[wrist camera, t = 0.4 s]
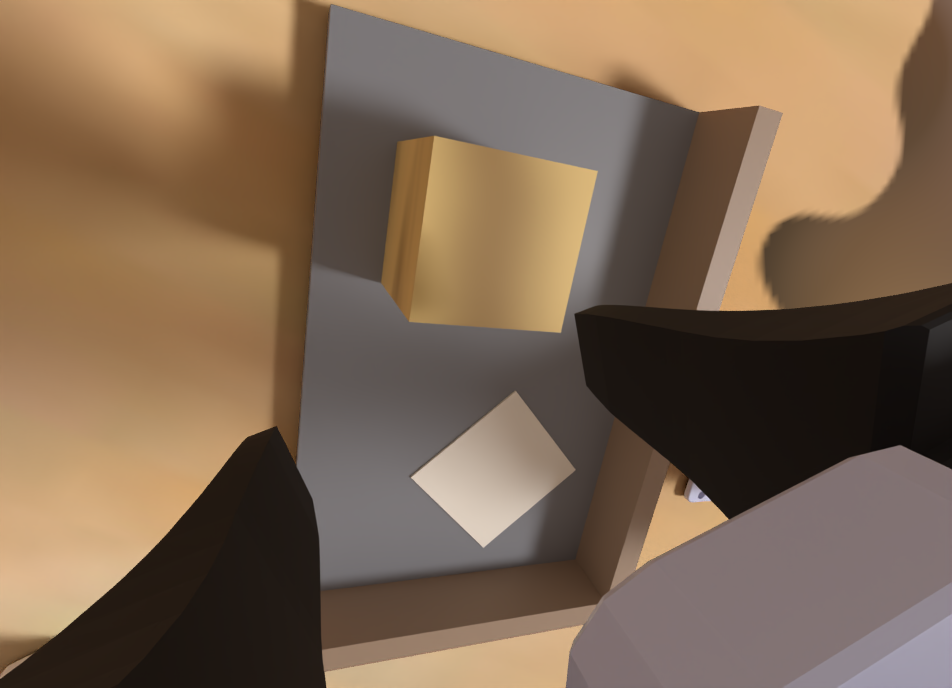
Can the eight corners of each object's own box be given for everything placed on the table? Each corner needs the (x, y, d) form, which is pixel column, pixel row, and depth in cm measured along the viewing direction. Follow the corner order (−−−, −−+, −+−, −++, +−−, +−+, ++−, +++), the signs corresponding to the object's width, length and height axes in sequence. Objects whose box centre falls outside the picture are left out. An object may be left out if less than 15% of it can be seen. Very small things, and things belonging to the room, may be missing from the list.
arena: (703, 120, 22) (782, 113, 18) (579, 561, 29) (619, 618, 25) (328, 12, 16) (339, -29, 13) (286, 598, 23) (285, 678, 20)
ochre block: (526, 168, 19) (597, 170, 15) (502, 294, 20) (560, 332, 16) (397, 141, 17) (434, 135, 13) (381, 283, 19) (409, 321, 14)
